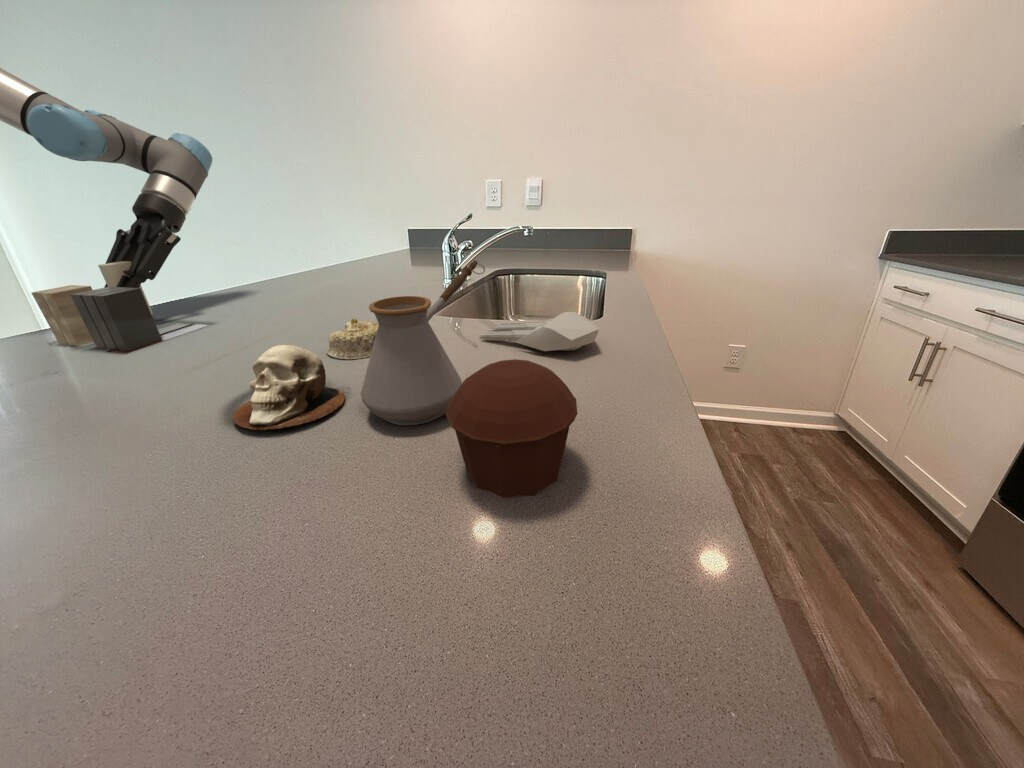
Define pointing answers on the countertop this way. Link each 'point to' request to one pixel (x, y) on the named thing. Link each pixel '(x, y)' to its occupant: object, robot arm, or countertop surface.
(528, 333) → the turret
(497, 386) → the muffin
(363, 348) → the cake
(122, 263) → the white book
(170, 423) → the countertop surface
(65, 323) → the tan wooden block
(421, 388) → the coffee pot
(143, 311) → the grey stand
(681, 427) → the countertop surface
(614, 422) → the countertop surface
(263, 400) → the skull
